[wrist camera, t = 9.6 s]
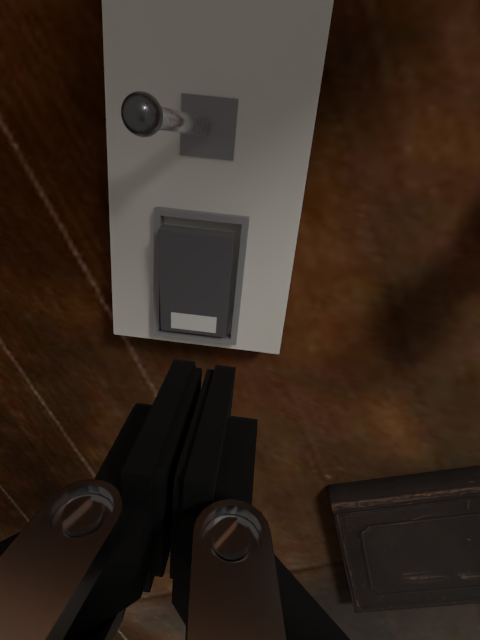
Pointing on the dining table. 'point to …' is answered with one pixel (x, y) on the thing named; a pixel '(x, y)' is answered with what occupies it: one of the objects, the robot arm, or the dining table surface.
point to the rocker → (195, 279)
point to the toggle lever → (159, 117)
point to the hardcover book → (410, 539)
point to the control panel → (212, 149)
